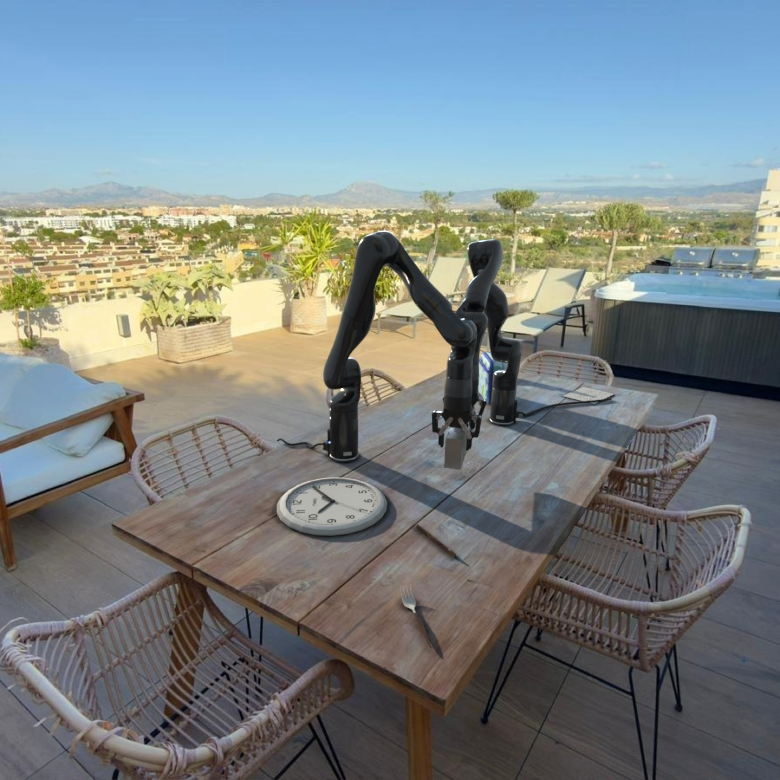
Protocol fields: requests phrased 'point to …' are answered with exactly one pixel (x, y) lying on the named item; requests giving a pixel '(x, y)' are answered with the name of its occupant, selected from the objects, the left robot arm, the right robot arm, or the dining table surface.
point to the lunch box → (488, 374)
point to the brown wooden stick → (436, 541)
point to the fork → (411, 605)
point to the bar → (455, 448)
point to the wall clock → (331, 506)
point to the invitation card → (588, 394)
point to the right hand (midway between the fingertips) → (463, 428)
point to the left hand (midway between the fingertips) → (454, 448)
